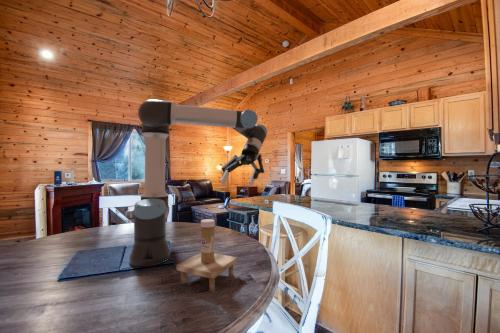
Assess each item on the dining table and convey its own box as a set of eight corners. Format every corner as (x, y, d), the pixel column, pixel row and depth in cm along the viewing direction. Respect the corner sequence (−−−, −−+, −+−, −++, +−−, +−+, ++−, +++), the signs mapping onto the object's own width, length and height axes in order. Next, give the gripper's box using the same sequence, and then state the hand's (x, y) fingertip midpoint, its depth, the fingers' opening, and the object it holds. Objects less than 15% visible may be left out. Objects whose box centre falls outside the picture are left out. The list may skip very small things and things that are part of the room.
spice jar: (198, 262, 81) (197, 221, 81) (205, 257, 85) (205, 218, 85) (210, 264, 79) (210, 222, 79) (217, 259, 83) (217, 219, 83)
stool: (176, 283, 79) (176, 265, 79) (203, 267, 91) (203, 251, 91) (213, 294, 73) (213, 273, 73) (237, 275, 85) (237, 257, 85)
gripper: (278, 154, 114) (265, 190, 101) (231, 155, 126) (214, 188, 112) (274, 142, 110) (260, 178, 96) (226, 144, 121) (207, 177, 108)
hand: (235, 183), depth 104 cm, fingers open, 13 cm apart
